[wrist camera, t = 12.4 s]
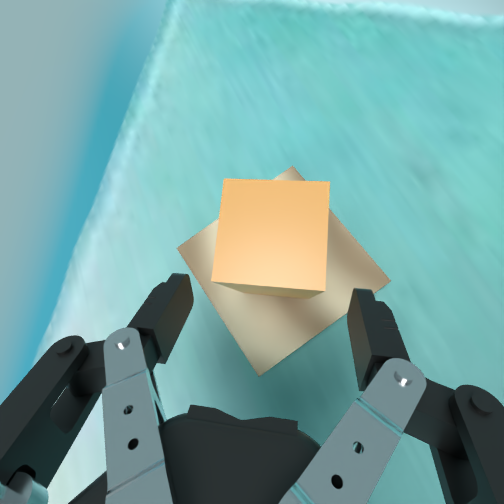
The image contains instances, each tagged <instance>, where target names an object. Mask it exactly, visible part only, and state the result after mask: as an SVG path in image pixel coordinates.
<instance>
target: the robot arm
mask: <svg viewBox="0 0 504 504" xmlns="http://www.w3.org/2000/svg"><path fill="white" fill-rule="evenodd" d="M193 300H194V298H193V292H192V287H191V282H190V277H189V275H188V274H179V273H173V274H172V275H171V276H170V277H169V279H168V280H167V282H166V283H165V282H162V283H160V284H159V285H158V286H156V287H155V288H154V289H153V290H152V292H151V293H150V294H149V296H148V298H147V299H146V300H145V302H144V304H142V306H141V307H140V309H139V310H138V312H137V313H136V314H135V316H134V317H133V319H132V320H131V322H130V323H129V324H128V326H127V327H126V328H122V329H119V330H117V331H115V332H113V333H112V334H111V335H110V336H109V337H108V338H107V339H106V340H103V341H97V342H91V343H85V341H84V339H83V338H82V337H80V336H76V335H75V336H68V337H65V338H63V339H61V340H59V341H57V342H56V343H54V344H53V345H52V346H51V347H50V348H49V349H48V350H47V351H46V353H45V354H44V355H43V356H42V357H41V358H40V360H39V361H38V362H37V363H36V364H35V365H34V367H33V368H32V369H31V370H30V371H29V372H28V374H27V375H26V376H25V377H24V378H23V380H22V381H21V382H20V383H19V384H18V385H17V387H16V388H15V389H14V390H13V391H12V392H11V393H10V395H9V396H8V397H7V398H6V399H5V400H4V402H3V403H2V404H1V405H0V504H48V491H47V488H48V486H49V484H50V482H51V481H52V479H53V477H54V475H55V474H56V472H57V470H58V468H59V467H60V465H61V463H62V461H63V460H64V458H65V456H66V454H67V453H68V451H69V449H70V447H71V446H72V444H73V442H74V440H75V439H76V437H77V435H78V433H79V432H80V430H81V428H82V426H83V425H84V423H85V421H86V419H87V418H88V416H89V414H90V412H91V411H92V409H93V407H94V405H95V404H96V402H97V400H98V398H99V397H100V395H101V393H102V402H103V418H104V434H105V450H106V466H107V470H106V471H105V472H104V473H103V474H102V475H101V476H100V477H98V478H97V479H96V480H95V481H94V482H93V483H91V484H90V485H89V486H88V487H87V488H86V489H84V490H83V491H82V492H81V493H80V494H79V495H77V496H76V497H75V498H74V499H73V500H72V501H70V502H69V503H68V504H367V502H368V500H369V498H370V496H371V494H372V492H373V490H374V488H375V486H376V484H377V482H378V480H379V479H380V477H381V475H382V473H383V471H384V469H385V467H386V465H387V463H388V461H389V459H390V457H391V455H392V453H393V452H394V450H395V448H396V446H397V444H398V442H399V440H400V438H401V436H402V434H403V432H404V433H406V434H409V435H411V436H413V437H415V438H417V439H419V440H421V441H423V442H425V443H427V444H429V446H430V449H431V453H432V456H433V460H434V463H435V467H436V470H437V474H438V477H439V481H440V484H441V488H442V491H443V495H444V498H445V502H446V504H504V407H503V405H502V404H501V403H500V402H499V401H498V400H497V399H496V398H495V397H494V396H493V395H491V394H490V393H489V392H487V391H485V390H483V389H481V388H479V387H476V386H473V385H461V386H459V387H458V388H457V389H456V390H453V389H451V388H448V387H446V386H443V385H441V384H438V383H435V382H433V381H431V380H429V379H427V378H426V377H425V376H424V375H423V373H422V372H421V370H420V369H419V368H418V367H416V366H415V365H414V364H412V363H411V361H410V359H409V356H408V353H407V351H406V348H405V345H404V343H403V340H402V337H401V335H400V332H399V330H398V327H397V324H396V322H395V318H394V316H393V313H392V310H391V309H390V308H389V307H388V306H387V305H386V304H385V303H384V302H381V301H375V297H374V294H373V291H372V290H371V289H361V288H354V289H353V292H352V296H351V300H350V304H349V309H348V314H347V324H348V330H349V336H350V341H351V347H352V353H353V359H354V364H355V370H356V376H357V381H358V387H359V391H364V393H363V394H362V396H361V397H360V398H359V399H358V398H357V399H356V400H355V401H354V402H353V404H352V405H351V406H350V408H349V409H348V410H347V412H346V413H345V415H344V416H343V417H342V419H341V420H340V422H339V423H338V424H337V426H336V427H335V429H334V430H333V431H332V433H331V434H330V436H329V437H328V438H327V440H326V441H325V443H324V444H323V445H322V447H321V446H320V445H319V444H318V443H317V442H316V441H315V440H313V439H312V438H311V437H310V436H308V435H307V434H305V433H303V432H301V431H299V430H297V425H298V421H294V420H287V419H281V418H274V417H265V418H257V419H249V420H239V419H237V418H235V417H233V416H231V415H229V414H226V413H224V412H222V411H220V410H218V409H216V408H210V407H204V406H197V405H190V408H189V411H188V413H184V414H180V415H177V416H175V417H172V418H170V419H168V420H167V419H166V416H165V413H164V410H163V406H162V402H161V398H160V394H159V390H158V386H157V382H156V378H155V374H154V370H153V369H154V367H155V365H156V363H162V364H166V362H167V360H168V357H169V355H170V353H171V351H172V349H173V347H174V345H175V343H176V341H177V339H178V337H179V334H180V332H181V330H182V328H183V326H184V324H185V322H186V320H187V318H188V316H189V313H190V311H191V309H192V306H193ZM64 389H65V390H64ZM63 390H64V391H63ZM62 392H63V393H62ZM61 393H62V394H61ZM60 395H61V396H60ZM59 396H60V397H59ZM58 398H59V399H58ZM57 399H58V400H57ZM55 402H56V403H55ZM54 403H55V404H54ZM53 405H54V406H53Z"/></svg>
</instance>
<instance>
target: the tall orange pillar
mask: <svg viewBox="0 0 504 504" xmlns="http://www.w3.org/2000/svg"><path fill="white" fill-rule="evenodd" d="M329 191H330V182H325V181H290V180H254V179H224V182H223V190H222V198H221V206H220V214H219V222H218V230H217V238H216V246H215V254H214V262H213V270H212V278H211V281H212V282H214V283H217V284H220V285H223V286H225V287H228V288H231V289H234V290H236V291H239V292H242V293H248V294H259V295H270V296H281V297H292V298H303V299H310V298H312V297H314V296H316V295H318V294H320V293H322V292H325V289H326V265H327V240H328V216H329Z"/></svg>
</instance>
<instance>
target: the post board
mask: <svg viewBox="0 0 504 504" xmlns="http://www.w3.org/2000/svg"><path fill="white" fill-rule="evenodd" d="M273 180H290V181H305V179H304V178H303V177H302V176H301V175H300V174H299V172H298V171H297V170H296V169H295V168H294V167H293V166H291V167H290V168H289V169H287V170H286V171H284V172H283V173H282V174H280V175H279V176H277V177H276V178H275V179H273ZM218 222H219V218H218V219H217V220H216V221H214V222H213V223H211V224H210V225H208V226H207V227H206V228H204V229H203V230H201V231H200V232H199V233H197V234H196V235H194V236H193V237H192V238H190V239H189V240H187V241H186V242H185V243H183V244H182V245H180V246H179V247H178V248H177V249H178V251H179V253H180V254H181V256H182V257H183V259H184V260H185V262H186V264H187V265H188V267H189V268H190V270H191V271H192V273H193V275H194V276H195V278H196V279H197V281H198V282H199V284H200V285H201V287H202V289H203V290H204V292H205V293H206V295H207V296H208V298H209V300H210V301H211V303H212V304H213V306H214V307H215V309H216V311H217V312H218V314H219V315H220V317H221V318H222V320H223V322H224V323H225V325H226V326H227V328H228V329H229V331H230V332H231V334H232V336H233V337H234V339H235V340H236V342H237V343H238V345H239V347H240V348H241V350H242V351H243V353H244V354H245V356H246V358H247V359H248V361H249V362H250V364H251V365H252V367H253V369H254V370H255V372H256V373H257V375H258V376H261V375H262V374H263V373H265V372H266V371H268V370H269V369H270V368H272V367H273V366H275V365H276V364H277V363H279V362H280V361H281V360H283V359H284V358H286V357H287V356H288V355H290V354H291V353H292V352H294V351H295V350H297V349H298V348H299V347H301V346H302V345H303V344H305V343H306V342H308V341H309V340H310V339H312V338H313V337H314V336H316V335H317V334H319V333H320V332H321V331H323V330H324V329H326V328H327V327H328V326H330V325H331V324H332V323H334V322H335V321H337V320H338V319H339V318H341V317H342V316H343V315H345V314H346V313H348V309H349V304H350V300H351V296H352V292H353V289H354V288H361V289H371V290H372V291H373V294H374V293H375V292H376V291H378V290H379V289H381V288H382V287H383V286H385V285H386V284H388V283H389V282H390V281H391V280H390V279H389V278H388V277H387V276H386V274H385V273H384V272H383V271H382V270H381V269H380V267H379V266H378V265H377V264H376V263H375V262H374V260H373V259H372V258H371V257H370V256H369V255H368V253H367V252H366V251H365V250H364V249H363V247H362V246H361V245H360V244H359V243H358V242H357V240H356V239H355V238H354V237H353V236H352V235H351V233H350V232H349V231H348V230H347V229H346V228H345V226H344V225H343V224H342V223H341V222H340V221H339V219H338V218H337V217H336V216H335V215H334V213H333V212H332V211H331V210H330V209H329V216H328V240H327V265H326V289H325V292H322V293H320V294H318V295H316V296H314V297H312V298H310V299H303V298H292V297H281V296H270V295H259V294H248V293H242V292H239V291H236V290H234V289H231V288H228V287H225V286H223V285H220V284H217V283H214V282H212V281H211V278H212V270H213V262H214V254H215V246H216V238H217V230H218Z"/></svg>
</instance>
